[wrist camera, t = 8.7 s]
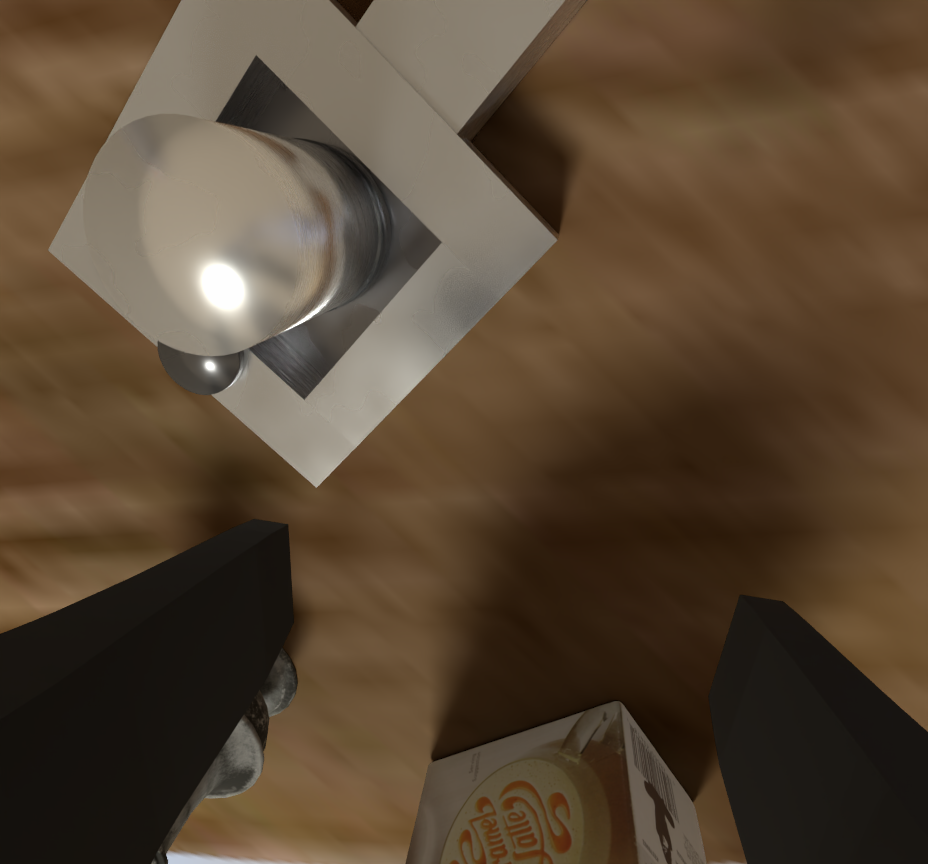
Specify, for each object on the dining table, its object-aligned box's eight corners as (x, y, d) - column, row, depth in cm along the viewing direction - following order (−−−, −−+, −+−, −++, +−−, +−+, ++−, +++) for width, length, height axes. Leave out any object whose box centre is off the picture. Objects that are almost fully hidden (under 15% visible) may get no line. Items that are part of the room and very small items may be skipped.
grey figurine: (168, 599, 24) (-182, 948, 13) (305, 630, 23) (61, 1026, 12) (179, 703, 26) (-109, 1076, 15) (303, 734, 25) (97, 1147, 14)
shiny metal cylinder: (411, 176, 16) (324, 165, 10) (366, 330, 17) (272, 391, 12) (258, 115, 16) (89, 71, 10) (229, 275, 17) (73, 309, 12)
